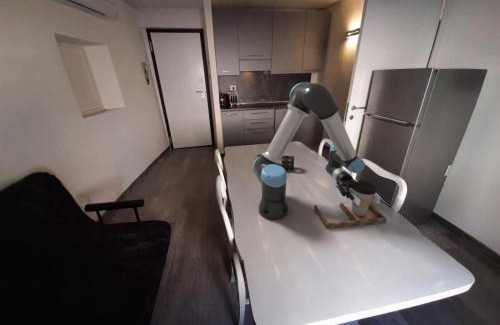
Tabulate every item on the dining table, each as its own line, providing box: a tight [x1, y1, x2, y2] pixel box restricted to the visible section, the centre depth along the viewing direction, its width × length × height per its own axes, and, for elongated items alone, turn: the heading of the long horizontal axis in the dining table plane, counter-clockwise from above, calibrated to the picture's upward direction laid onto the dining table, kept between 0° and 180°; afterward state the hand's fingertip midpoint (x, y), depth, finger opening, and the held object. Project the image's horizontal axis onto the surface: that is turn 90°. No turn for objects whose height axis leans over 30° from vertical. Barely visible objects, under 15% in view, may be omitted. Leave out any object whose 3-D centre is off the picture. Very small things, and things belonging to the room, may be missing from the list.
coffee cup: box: [351, 180, 377, 216], centre depth 92 cm, size 9×9×15 cm
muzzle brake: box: [253, 153, 295, 170], centre depth 143 cm, size 10×28×10 cm, turn 79°
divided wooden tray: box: [313, 202, 388, 230], centre depth 95 cm, size 28×14×2 cm, turn 95°
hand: (369, 202), depth 87 cm, fingers open, 8 cm apart
